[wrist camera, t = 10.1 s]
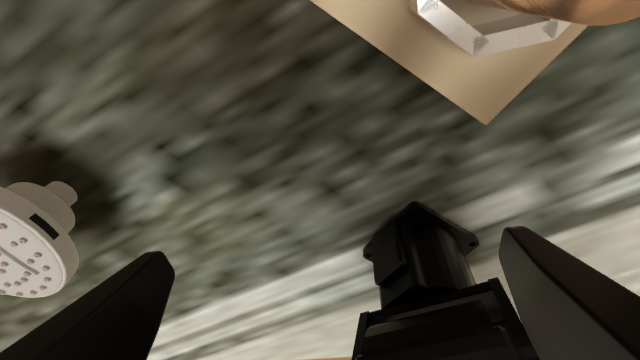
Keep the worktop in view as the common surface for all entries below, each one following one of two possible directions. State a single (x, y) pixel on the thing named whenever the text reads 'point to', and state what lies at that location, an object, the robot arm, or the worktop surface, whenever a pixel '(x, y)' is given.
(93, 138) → the worktop surface
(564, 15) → the copper brown cylinder
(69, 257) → the showerhead
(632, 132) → the worktop surface
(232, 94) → the worktop surface
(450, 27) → the collar
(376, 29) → the board
